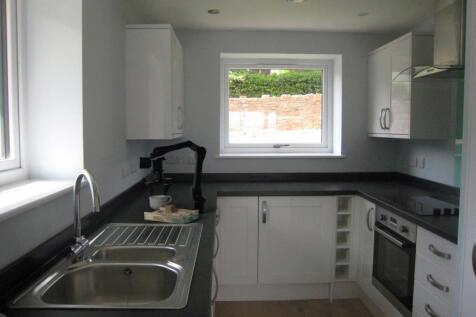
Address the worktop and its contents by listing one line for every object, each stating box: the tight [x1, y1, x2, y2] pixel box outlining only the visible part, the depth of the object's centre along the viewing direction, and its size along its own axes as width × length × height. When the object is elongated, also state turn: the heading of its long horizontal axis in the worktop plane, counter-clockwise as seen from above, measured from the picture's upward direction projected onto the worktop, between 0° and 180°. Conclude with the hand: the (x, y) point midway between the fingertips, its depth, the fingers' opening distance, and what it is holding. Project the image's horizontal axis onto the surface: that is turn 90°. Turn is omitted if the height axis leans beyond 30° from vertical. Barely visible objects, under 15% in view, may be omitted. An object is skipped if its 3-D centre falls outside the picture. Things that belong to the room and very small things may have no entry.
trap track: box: [143, 207, 200, 225], centre depth 209 cm, size 15×26×4 cm, turn 66°
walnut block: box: [165, 204, 176, 214], centre depth 213 cm, size 4×4×4 cm
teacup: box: [149, 194, 172, 210], centre depth 236 cm, size 14×11×8 cm
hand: (158, 195), depth 215 cm, fingers open, 9 cm apart
